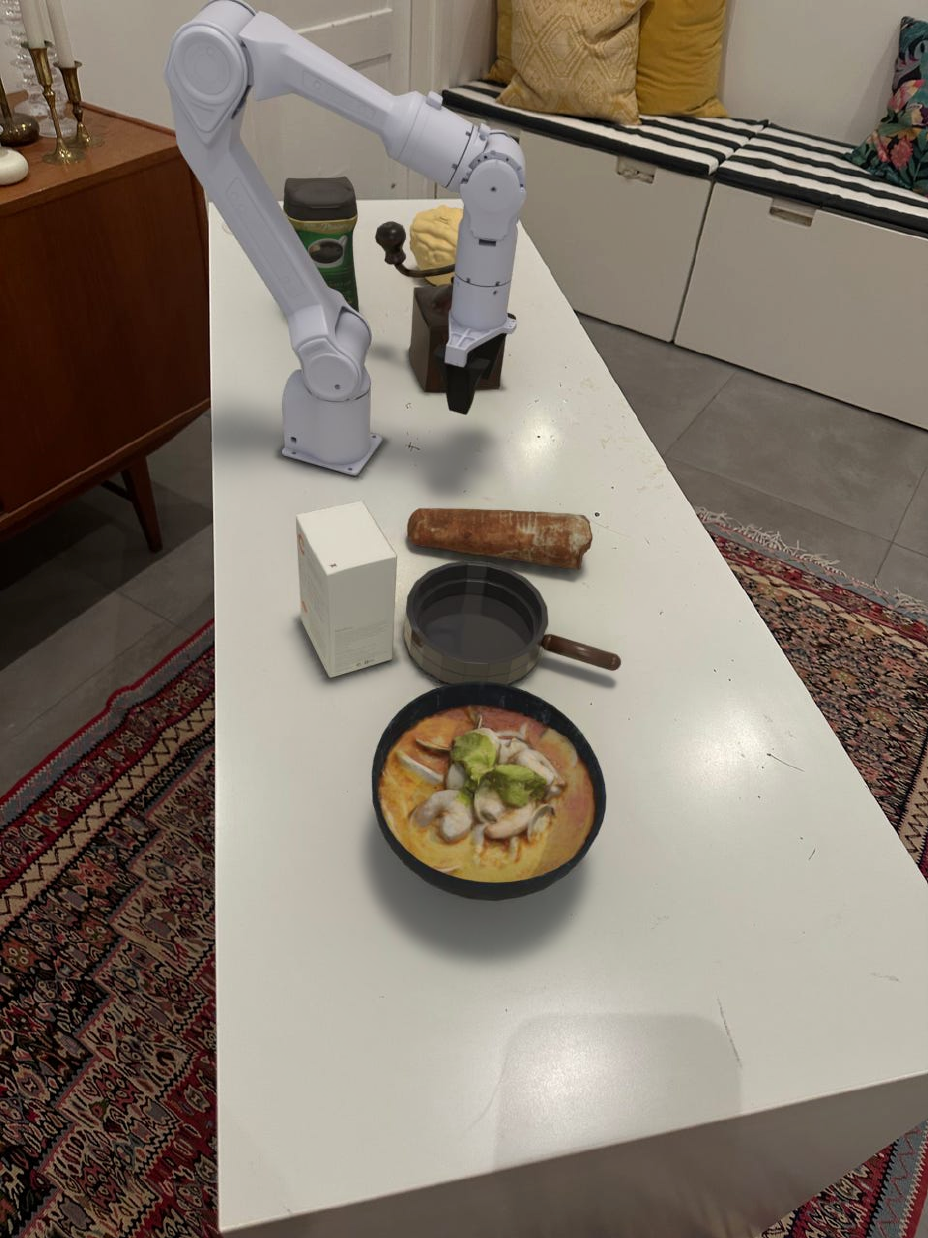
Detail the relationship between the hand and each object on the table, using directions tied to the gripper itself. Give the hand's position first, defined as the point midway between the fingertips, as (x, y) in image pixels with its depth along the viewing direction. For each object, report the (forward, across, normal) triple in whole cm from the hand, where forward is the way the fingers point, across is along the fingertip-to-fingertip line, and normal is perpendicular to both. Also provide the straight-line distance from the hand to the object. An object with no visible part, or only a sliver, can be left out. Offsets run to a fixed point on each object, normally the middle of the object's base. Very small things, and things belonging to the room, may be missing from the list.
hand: (469, 393), depth 96 cm
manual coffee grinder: (+10, +18, +10) cm, 23 cm away
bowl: (+10, -46, -17) cm, 50 cm away
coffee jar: (+10, +24, +29) cm, 39 cm away
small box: (+10, -31, +1) cm, 32 cm away
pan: (+9, -26, -10) cm, 29 cm away
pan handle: (+8, -26, -20) cm, 34 cm away
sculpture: (+10, +44, +17) cm, 48 cm away
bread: (+10, -14, -8) cm, 19 cm away
